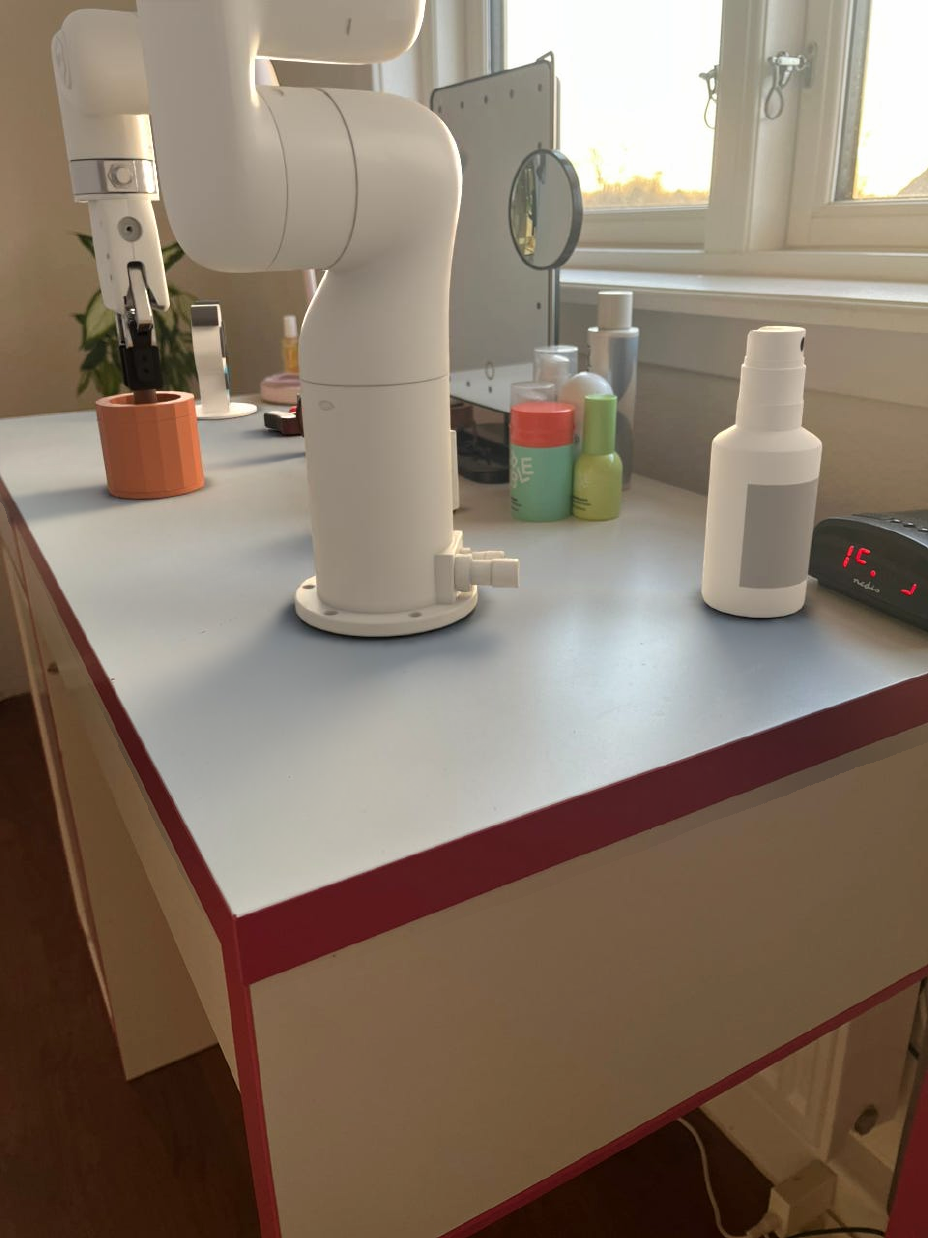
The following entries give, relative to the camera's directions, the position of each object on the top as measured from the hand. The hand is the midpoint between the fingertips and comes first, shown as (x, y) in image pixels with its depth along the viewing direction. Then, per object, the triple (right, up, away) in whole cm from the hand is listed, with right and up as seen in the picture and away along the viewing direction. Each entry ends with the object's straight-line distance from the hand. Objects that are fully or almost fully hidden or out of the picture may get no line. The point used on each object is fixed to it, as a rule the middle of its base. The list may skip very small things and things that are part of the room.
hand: (143, 385), depth 98 cm
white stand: (-4, +6, +45) cm, 45 cm away
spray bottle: (+51, -22, -30) cm, 63 cm away
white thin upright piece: (+27, -13, -7) cm, 31 cm away
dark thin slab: (+18, -4, +17) cm, 25 cm away
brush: (0, -8, +3) cm, 9 cm away
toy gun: (+12, +2, +33) cm, 35 cm away
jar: (0, -10, +4) cm, 10 cm away
